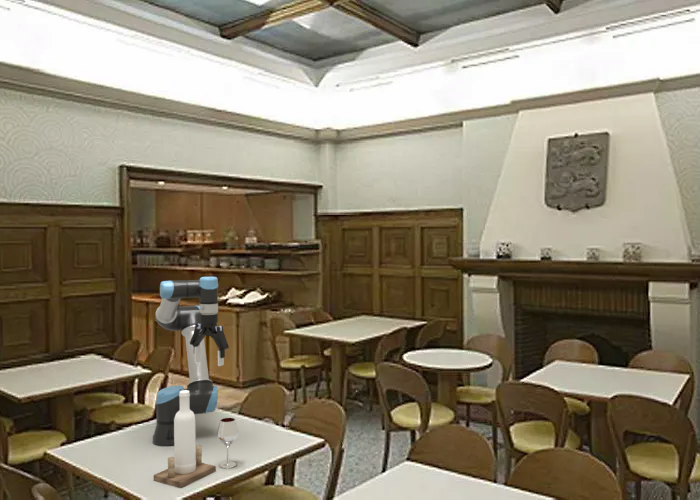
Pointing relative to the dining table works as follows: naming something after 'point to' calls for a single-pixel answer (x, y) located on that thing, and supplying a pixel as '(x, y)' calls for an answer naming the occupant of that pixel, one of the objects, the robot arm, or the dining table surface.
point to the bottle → (184, 437)
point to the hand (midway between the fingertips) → (209, 363)
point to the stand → (184, 479)
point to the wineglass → (227, 437)
